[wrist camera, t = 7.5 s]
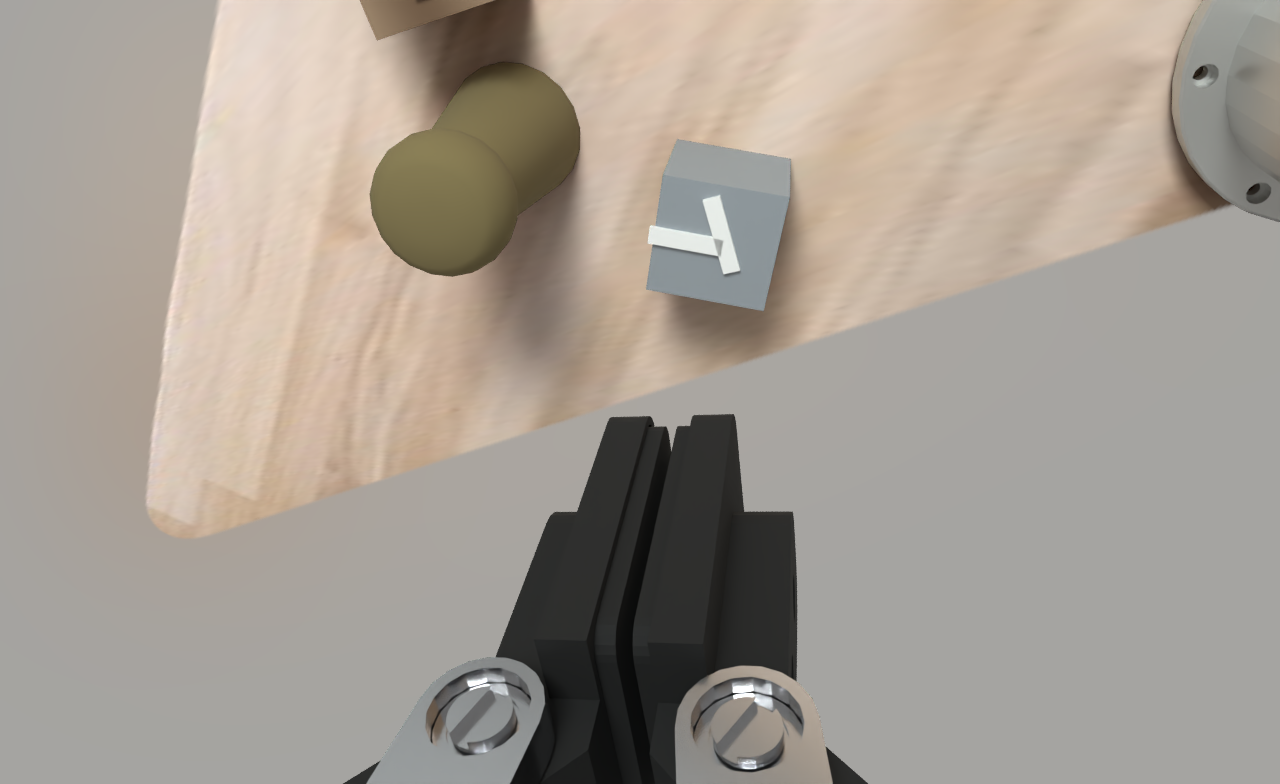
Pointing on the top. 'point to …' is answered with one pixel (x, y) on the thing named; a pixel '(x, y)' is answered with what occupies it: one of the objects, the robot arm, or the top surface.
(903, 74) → the top surface
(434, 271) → the cork
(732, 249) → the slate numeral block
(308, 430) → the top surface
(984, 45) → the top surface
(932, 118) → the top surface
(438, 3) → the walnut numeral block
